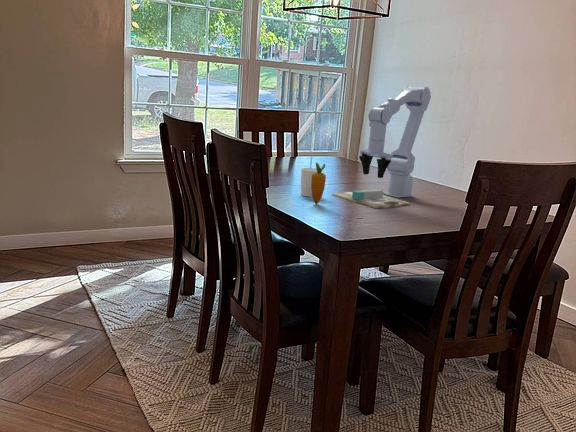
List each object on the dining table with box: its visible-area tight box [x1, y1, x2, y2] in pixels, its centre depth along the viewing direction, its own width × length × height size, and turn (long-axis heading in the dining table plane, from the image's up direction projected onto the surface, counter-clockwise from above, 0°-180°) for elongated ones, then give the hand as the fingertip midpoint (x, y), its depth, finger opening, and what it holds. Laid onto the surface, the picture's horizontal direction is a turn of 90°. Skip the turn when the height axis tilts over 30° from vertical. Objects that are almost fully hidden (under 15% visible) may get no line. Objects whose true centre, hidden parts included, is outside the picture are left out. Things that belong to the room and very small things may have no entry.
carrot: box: [311, 162, 327, 205], centre depth 187 cm, size 5×5×15 cm
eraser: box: [352, 188, 385, 200], centre depth 202 cm, size 14×3×3 cm, turn 126°
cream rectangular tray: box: [331, 191, 411, 209], centre depth 203 cm, size 18×24×2 cm
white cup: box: [300, 167, 323, 198], centre depth 203 cm, size 8×8×10 cm
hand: (372, 176), depth 201 cm, fingers open, 7 cm apart
